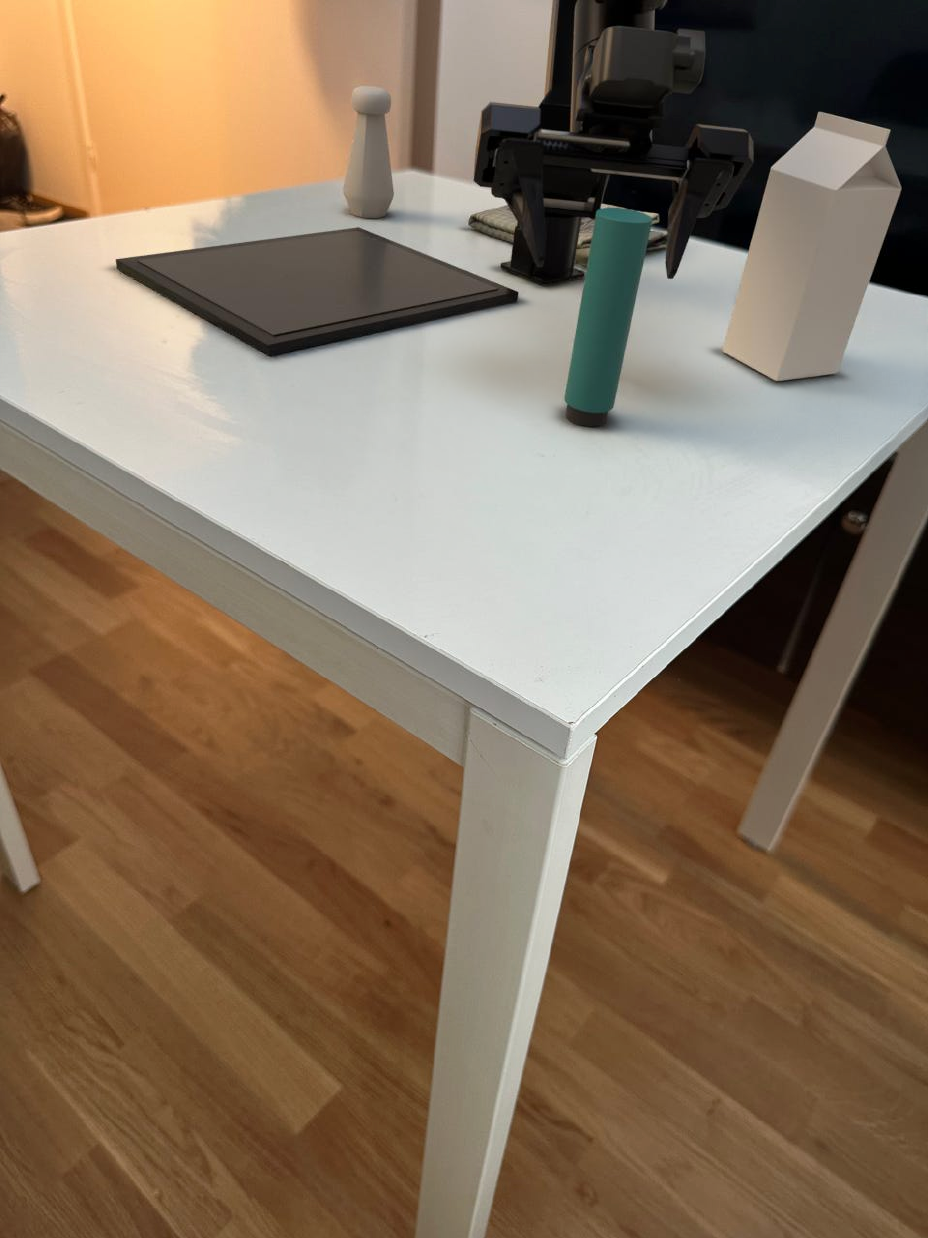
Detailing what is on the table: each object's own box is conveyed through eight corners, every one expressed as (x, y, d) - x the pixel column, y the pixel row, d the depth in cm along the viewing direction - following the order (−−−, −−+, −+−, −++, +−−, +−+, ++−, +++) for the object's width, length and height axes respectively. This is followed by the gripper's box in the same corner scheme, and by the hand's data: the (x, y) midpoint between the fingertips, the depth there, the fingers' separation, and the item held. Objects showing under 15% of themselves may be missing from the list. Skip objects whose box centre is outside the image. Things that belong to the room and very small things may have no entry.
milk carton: (776, 383, 77) (855, 128, 65) (720, 352, 82) (785, 110, 70) (837, 375, 80) (923, 130, 68) (779, 345, 85) (851, 112, 73)
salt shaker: (401, 214, 110) (407, 89, 102) (377, 222, 105) (382, 93, 98) (358, 204, 111) (361, 81, 104) (333, 212, 107) (335, 84, 99)
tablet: (358, 235, 100) (358, 225, 100) (517, 301, 88) (519, 290, 87) (116, 268, 84) (115, 257, 83) (269, 356, 71) (269, 343, 70)
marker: (583, 403, 69) (619, 205, 61) (620, 421, 67) (663, 218, 59) (551, 414, 67) (585, 210, 59) (589, 433, 65) (629, 224, 57)
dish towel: (461, 228, 107) (464, 198, 105) (554, 211, 119) (558, 184, 117) (591, 271, 98) (596, 239, 96) (678, 248, 109) (684, 219, 108)
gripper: (496, -47, 57) (484, 184, 55) (788, -12, 59) (788, 214, 56) (478, 83, 68) (467, 280, 66) (724, 110, 70) (722, 303, 67)
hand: (606, 269), depth 63 cm, fingers open, 9 cm apart
